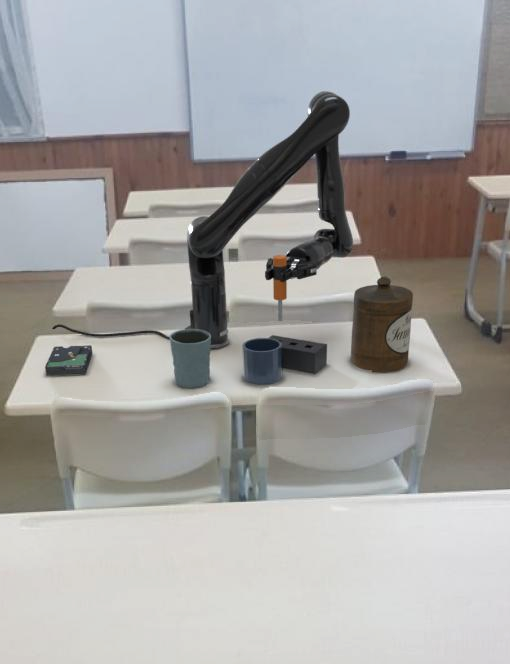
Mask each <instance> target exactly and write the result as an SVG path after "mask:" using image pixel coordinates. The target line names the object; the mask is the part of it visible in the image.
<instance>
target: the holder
mask: <svg viewBox="0 0 510 664" xmlns="http://www.w3.org/2000/svg"><path fill="white" fill-rule="evenodd" d="M268 338H271V339H275V340H278V341H280V342H281V344H282V369H284V370H291V371H296V372H299V373H300V372H301V373H307V374H312V375H316V374H317V373H319V372H320V371H321V370H322V369H323V368H324V367H326V366H327V364H328V363H327V362H328V361H327V360H328V344H327V343H323V342H315V341H311V340H304V339H299V338H292V337H287V336H281V335H274V334H272V335H270V336H269V337H268Z"/></svg>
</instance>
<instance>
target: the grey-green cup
mask: <svg viewBox="0 0 510 664" xmlns="http://www.w3.org/2000/svg"><path fill="white" fill-rule="evenodd" d="M169 337H170V340H169V344H170V351H171V356H172V365H173V374H174V375H173V376H174V382H175V383H176V385H177V386H178V387H180V388H184V389H197V388H203V387H205V386H206V385H209V382H210V379H211V378H210V375H211V369H210V368H211V367H210V365H211V361H210V360H211V357H210V356H211V349H210V346H211V335H210V333H208V332H207V331H204V330H200V329H185V328H184V329H178V330H176V331H174V332H172V333H170V335H169Z"/></svg>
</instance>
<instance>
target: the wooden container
mask: <svg viewBox="0 0 510 664" xmlns="http://www.w3.org/2000/svg"><path fill="white" fill-rule="evenodd" d="M391 282H392V281H391V278H389V277H388V276H381V277H380V278H378V279H377V281H376V284H370V285H366V286H365V285H364V286H362V287H359V288H357V289H355V291H354V294H353V309H352V310H353V312H352V324H351V325H352V326H351V341H350V343H351V345H350V363H351V365H353V366H355V367H356V368H359V369H361V370H365V371H371V372H372V373H389V372H396V371H399V370H402V369H404V368H405V367H406V366H407V365H408V363H409V355H410V354H409V352H410V340H411V327H412V312H413V310H412V309H413V303H414V302H413V299H414V293H413V291H411V289H409V288H407V287H404V286H399V285H394V284H392V283H391Z"/></svg>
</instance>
